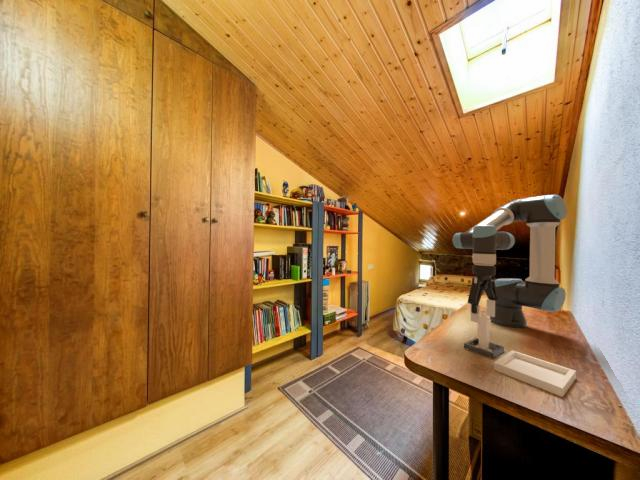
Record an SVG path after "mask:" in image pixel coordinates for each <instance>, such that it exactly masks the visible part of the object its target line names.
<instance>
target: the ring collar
mask: <svg viewBox="0 0 640 480" xmlns="http://www.w3.org/2000/svg"><path fill="white" fill-rule="evenodd" d="M477 345H479V338H478V337H474V338H472V339H470V340H467V341H465V342H464V343H463V349H464V348H465V350H467V349H468V350H467V351H470V352H472V353H473V352H474V353H475V352H476V353H475V354H478V355H480V356H481V355H482V356H484V357H487V358H489V359H492V360H494V359H496V358H497V357H499V356H501V355H502V354H503V353H505V346H503V345H501V344H497V343H494V342H490V341H489V349H492V351H491V350H490V351H488V350H485V349H482V348H479V347H478V346H477Z"/></svg>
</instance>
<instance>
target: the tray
mask: <svg viewBox="0 0 640 480" xmlns="http://www.w3.org/2000/svg"><path fill="white" fill-rule="evenodd" d="M493 370H494V371H496V372H499V373H501V374H504V375H505V376H509V377H511V378H514V379H515V380H516V379H517V380H518V381H522V382H524V383H525V384H529V385H532V386H533V387H536V388H538V389H541V390H544V391H546V392H548V393H551V394H554V395H556V396H559V397H561V398H563V397H564V396H565V395H566V393H567V392H568V390H569V389H570V387H571V386H572V385H573V383H574V382H575V381H576V379H577V371H576V370H574V369H572V368H569V367H565V366H562V365H560V364H557V363H553V362H550V361H547V360H543V359H541V358H538V357H534V356H531V355H529V354H525V353H522V352H519V351H516V350H510V351H508V352H507V353H506V354H504V355H503V356H500V358H498V359H497V360H495V361H494V362H493Z"/></svg>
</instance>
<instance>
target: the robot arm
mask: <svg viewBox="0 0 640 480" xmlns="http://www.w3.org/2000/svg"><path fill="white" fill-rule="evenodd" d="M567 212H568V209H567V205H566V202H565V201H564V199H563V197H561V196H560V195H558V194H544V195H538V196H531V197H524V198H517V199H514V200H511V201H508V202H507V203H504V204H502V205H500V206H499V207H498V208H496V209H495V210H493V212H492V213H491V215H489V216H487V217H486V218H485V219H482V220H481V221H480V222H478V223H477V224H476V225H474V226H473V227H470V228H469V229H468V230H466V231H464V232H456V233H455V234H454V235H453V236H452V244H453V247H454V248H456V249H463V250H465V249H466V250H472V255H471V258H472V263H473V264H472V269H471V272H472V274H473V275H476V277H472V278H471V280H472V281H471V284H470V285H471V286H470V290H469V293H468V299H467V304H469V305H470V322H473V323H480V316H481V309H480V308H481V305H480V301H481V298H482V296H483V293H485V295H486V297H487V299H486V312H487V316H489V319H491V323H494V324H498V325H500V326H505V327H510V328H526V327H528V325H527V324H528V321H527V319H526V316H525V314H524V312H523V307H527V308H531V309H536V310H541V311H543V312H544V311H545V312H550V313H551V312H552V313H555V312H558V311H561V309H562V308H563V306H564V304H565V301H566V296H567V295H566V294H567V293H566V290H565V288H563V287H561V286H560V282H559V281H558V280H556V277H555V276H556V275H555V273H556V269H555V268H556V264H555V263H556V228H557V226H559V225H560V224H561V220H564V219H566V217H567ZM518 222H519V223H520V222H525V223H526V224H525V225H526V226H528V227H529V229H530V230H529V235H530V236H529V239H530V240H529V276H528V277H526V278H525V280H524V281H525V282H523V280H522V278H498V279H496V277H495V276H496V274H497V273H496V271H497V269H496V268H497V266H495V265H497V250H498V251H499V250H500V251H505V250H509V249H511V248H513V246H515V243H516V240H515V239H516V238H515V236H514V235H513V234H512V233H510V232H507V231H503V230H502V231H498V230H500V229H501V228H502V227H503V226H508V225H511V224H512V223H518Z"/></svg>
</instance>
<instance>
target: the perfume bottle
mask: <svg viewBox="0 0 640 480" xmlns="http://www.w3.org/2000/svg"><path fill="white" fill-rule="evenodd" d="M487 316H488V315H487V311H485V310H480V323H477V322H476V323H477V325H476V326H477V335H478V337H477V338H478V339H479V344H478V346H477V347H479V348H482V349H485V350H488V351H491V350H490V348H489V342H490V333H491V323H492V321H491V319H490V317H487Z"/></svg>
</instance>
